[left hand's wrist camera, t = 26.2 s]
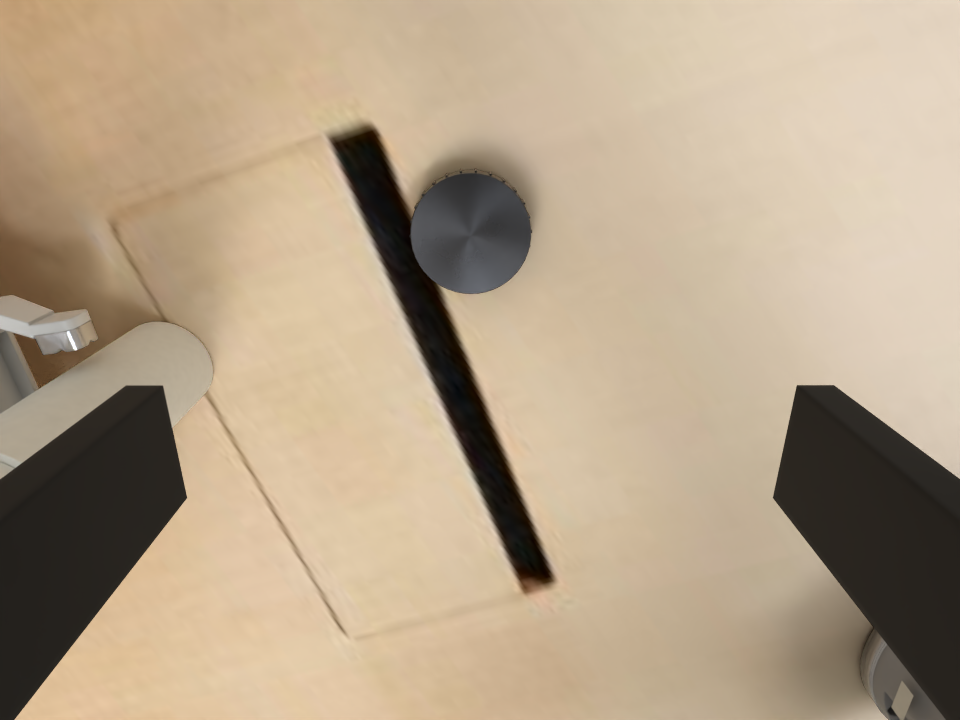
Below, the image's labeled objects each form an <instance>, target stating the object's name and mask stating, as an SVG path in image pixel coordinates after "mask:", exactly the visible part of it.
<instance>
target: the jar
mask: <svg viewBox="0 0 960 720" xmlns="http://www.w3.org/2000/svg"><path fill="white" fill-rule="evenodd" d="M212 378H213V365H212V361H211V358H210V355H209V353H208V351H207V349H206V348H205V346H204V345H203V344H202V343H201V341H200V340H199V339H198V338H197V337H196V336H194V335H193V334H192V333H191V332H189V331H187V330H186V329H184V328H182V327H180V326H177V325H175V324H171V323H167V322H148V323H144V324H141V325H139V326H136V327H135V328H133V329H132V330H130V331H129V332H127V333H126V334H124V335H122V336H121V337H119V338H118V339H116V340H115V341H113V342H112V343H110V344H108V345H107V346H105V347H104V348H102V349H101V350H99V351H97V352H96V353H94V354H93V355H91V356H90V357H88V358H87V359H85V360H83V361H82V362H80V363H79V364H77V365H76V366H74V367H72V368H71V369H69V370H68V371H66V372H65V373H63V374H62V375H60V376H58V377H57V378H55V379H54V380H52V381H51V382H49V383H48V384H46V385H44V386H43V387H41V388H40V389H38V390H37V391H35V392H33V393H32V394H30V395H29V396H27V397H26V398H24V399H23V400H21V401H19V402H18V403H16V404H15V405H13V406H12V407H10V408H8V409H7V410H5V411H4V412H2V413H1V414H0V479H1V478H2V477H4V476H5V475H7V474H8V473H9V472H11V471H12V470H13V469H15V468H16V467H17V466H19V465H20V464H21V463H23V462H24V461H25V460H27V459H28V458H29V457H31V456H32V455H33V454H35V453H36V452H37V451H39V450H40V449H41V448H43V447H44V446H45V445H47V444H48V443H49V442H51V441H52V440H53V439H55V438H56V437H58V436H59V435H60V434H62V433H63V432H64V431H66V430H67V429H68V428H70V427H71V426H72V425H74V424H75V423H76V422H78V421H79V420H80V419H82V418H83V417H84V416H86V415H87V414H88V413H90V412H91V411H92V410H94V409H95V408H96V407H98V406H99V405H100V404H102V403H103V402H104V401H106V400H107V399H109V398H110V397H111V396H113V395H114V394H115V393H117V392H118V391H119V390H121V389H122V388H123V387H125V386H126V385H163V387H164V392H165V397H166V402H167V406H168V411H169V416H170V420H171V425H172V428H173V427H174V426H175V425H176V424H177V423H178V422H179V421H180V420H181V419H182V417H183V416H184V415H185V414H186V413H187V412H188V411H189V410H190V409H191V408H192V407H193V406H194V405H195V404H196V403H197V402H198V401H199V400H200V398H201V397H202V396H203V395H204V394H205V393H206V392H207V390H208V389H209V387H210V385H211V382H212Z"/></svg>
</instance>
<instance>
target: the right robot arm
mask: <svg viewBox="0 0 960 720" xmlns="http://www.w3.org/2000/svg"><path fill="white" fill-rule="evenodd" d="M14 333H16V334H19V335H23V336H26V337H29V338H33V339H36V341H37V344H38V346H39V348H40V350H41V352H42V354H43V355H47V354H55V353H58V352H60V351H62V350H63V351H65V352H70V351H75V350H79V349H82V348H84V347H86V346H88V345H89V343H90V342H94V341H96V340H98V336H97V333H96V330H95V328H94V325H93V323H92V320H91V318H90V316H89V313H88V311H87V309H81V310H73V311H66V312H59V313H54V311H53V310H51V309H48V308H46V307H43V306H40V305H38V304H35V303H33V302H30V301H27V300H25V299H22V298H20V297H17V296H14V295H8V296H1V297H0V414H1V413H2V412H4V411H5V410H7V409H8V408H10V407H12V406H13V405H15V404H16V403H18V402H19V401H21V400H23V399H24V398H26V397H27V396H29V395H30V394H32V393H33V392H35V391H37V390H38V389H39V387H38V385H37V383H36V381H35V379H34V377H33V374H32V372H31V370H30V368H29V366H28V364H27V362H26V359H25V357H24V355H23V353H22V351H21V349H20V346H19V344H18V342H17V340H16V338H15V336H14Z"/></svg>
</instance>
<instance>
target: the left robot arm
mask: <svg viewBox="0 0 960 720" xmlns="http://www.w3.org/2000/svg"><path fill="white" fill-rule="evenodd" d="M186 499H187V496H186V491H185V486H184V482H183V477H182V472H181V467H180V463H179V458H178V453H177V449H176V444H175V439H174V435H173V430H172V425H171V420H170V416H169V411H168V406H167V402H166V397H165V392H164V387H163V385H126V386H125V387H123V388H122V389H121V390H119V391H118V392H117V393H115V394H114V395H113V396H111V397H110V398H109V399H107V400H106V401H104V402H103V403H102V404H100V405H99V406H98V407H96V408H95V409H94V410H92V411H91V412H90V413H88V414H87V415H86V416H84V417H83V418H82V419H80V420H79V421H78V422H76V423H75V424H74V425H72V426H71V427H70V428H68V429H67V430H66V431H64V432H63V433H62V434H60V435H59V436H58V437H56V438H55V439H53V440H52V441H51V442H49V443H48V444H47V445H45V446H44V447H43V448H41V449H40V450H39V451H37V452H36V453H35V454H33V455H32V456H31V457H29V458H28V459H27V460H25V461H24V462H23V463H21V464H20V465H19V466H17V467H16V468H15V469H13V470H12V471H11V472H9V473H8V474H7V475H5V476H4V477H2V478H1V479H0V720H14V719H15V718H16V717H17V716H18V714H19V713H20V712H21V710H22V709H23V708H24V707H25V705H26V704H27V703H28V701H29V700H30V699H31V698H32V696H33V695H34V694H35V692H36V691H37V690H38V689H39V687H40V686H41V685H42V683H43V682H44V681H45V680H46V678H47V677H48V676H49V674H50V673H51V672H52V671H53V669H54V668H55V667H56V665H57V664H58V663H59V662H60V660H61V659H62V658H63V656H64V655H65V654H66V653H67V651H68V650H69V649H70V647H71V646H72V645H73V644H74V642H75V641H76V640H77V639H78V637H79V636H80V635H81V633H82V632H83V631H84V630H85V628H86V627H87V626H88V624H89V623H90V622H91V621H92V619H93V618H94V617H95V615H96V614H97V613H98V612H99V610H100V609H101V608H102V606H103V605H104V604H105V603H106V601H107V600H108V599H109V597H110V596H111V595H112V594H113V592H114V591H115V590H116V588H117V587H118V586H119V585H120V583H121V582H122V581H123V579H124V578H125V577H126V576H127V574H128V573H129V572H130V570H131V569H132V568H133V567H134V565H135V564H136V563H137V561H138V560H139V559H140V558H141V556H142V555H143V554H144V552H145V551H146V550H147V549H148V547H149V546H150V545H151V544H152V542H153V541H154V540H155V538H156V537H157V536H158V535H159V533H160V532H161V531H162V529H163V528H164V527H165V526H166V524H167V523H168V522H169V520H170V519H171V518H172V517H173V515H174V514H175V513H176V511H177V510H178V509H179V508H180V506H181V505H182V504H183V502H184V501H185V500H186ZM773 499H774V500H775V501H776V502H777V504H778V505H779V506H780V508H781V509H782V510H783V511H784V513H785V514H786V515H787V517H788V518H789V519H790V520H791V522H792V523H793V524H794V526H795V527H796V528H797V529H798V531H799V532H800V533H801V535H802V536H803V537H804V538H805V540H806V541H807V542H808V544H809V545H810V546H811V547H812V549H813V550H814V551H815V552H816V554H817V555H818V556H819V558H820V559H821V560H822V561H823V563H824V564H825V565H826V567H827V568H828V569H829V570H830V572H831V573H832V574H833V576H834V577H835V578H836V579H837V581H838V582H839V583H840V585H841V586H842V587H843V588H844V590H845V591H846V592H847V594H848V595H849V596H850V597H851V599H852V600H853V601H854V603H855V604H856V605H857V606H858V608H859V609H860V610H861V612H862V613H863V614H864V615H865V617H866V618H867V619H868V621H869V622H870V623H871V624H872V626H873V627H874V630H873V631H872V633H871V634H870V636H869V638H868V640H867V642H866V644H865V646H864V649H863V653H862V656H861V663H860V672H861V678H862V681H863V684H864V686H865V688H866V690H867V692H868V693H869V695H870V696H871V698H872V699H873V701H874V702H875V704H876V705H877V707H878V708H879V710H880V711H881V712H882V714H883V715H884V716H885V717H886V718H887V719H888V720H960V479H959V478H958V477H956V476H955V475H953V474H952V473H951V472H949V471H948V470H947V469H945V468H944V467H943V466H941V465H940V464H939V463H937V462H936V461H935V460H933V459H932V458H931V457H929V456H928V455H927V454H925V453H924V452H923V451H921V450H920V449H919V448H917V447H916V446H915V445H913V444H912V443H911V442H909V441H908V440H907V439H905V438H904V437H902V436H901V435H900V434H898V433H897V432H896V431H894V430H893V429H892V428H890V427H889V426H888V425H886V424H885V423H884V422H882V421H881V420H880V419H878V418H877V417H876V416H874V415H873V414H872V413H870V412H869V411H868V410H866V409H865V408H864V407H862V406H861V405H860V404H858V403H857V402H856V401H854V400H853V399H851V398H850V397H849V396H847V395H846V394H845V393H843V392H842V391H841V390H839V389H838V388H837V387H835V386H834V385H797V387H796V392H795V397H794V402H793V406H792V411H791V416H790V420H789V425H788V430H787V435H786V439H785V444H784V449H783V453H782V458H781V463H780V467H779V472H778V477H777V482H776V486H775V491H774V496H773Z"/></svg>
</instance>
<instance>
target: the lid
mask: <svg viewBox="0 0 960 720" xmlns="http://www.w3.org/2000/svg"><path fill="white" fill-rule="evenodd" d="M516 192H517V191H516V189H515V188H514V187H513V188H512V187H511V186H510V185H509V184H508V183H506V182H505V179H504V178H502V179H501V178H499V177H497V176H495V175H493V174H492V173H491V172H490V171H489V173H488V172H484V171H479V170H477V169H476V168H475V170H462V169H460V171H457V172H454V173H451V174H448V173H446V175H445V176H444V177H442V178H441V179H439V180H438V181H434V182H433V184H432V185H431V186H430V187H429V189H428V190H427V191H424V192H423V194H422V198H421V200H420V201H419V203H417V204H416V206H415V211H414V214H413V217H412V219H411V221H410V223H411V233H410V237H411V244H412V249H413V252H414V255H415V257H416V259H417V261H418V263H419V265H420V266H421V268H422V269H423V271H424V272H425V273H426V274H427V275H428V276H429V277H430V278H431V279H432V280H433V281H434V282H436V283H437V284H439V285H440V286H442V287H444V288H446V289H448V290H451V291H454V292H459V293H465V294H478V293H483V292H487V291H491V290H493V289H496V288H498V287H500V286H501V285H503V284H505V283H506V282H507V281H509V280H510V279H511V278H512V277H513V276H514V275H515V274H516V273H517V272H518V270H519V269H520V268H521V266H522V264H523V263H524V261H525V259H526V256H527V254H528V251H529V247H530V241H531V233H532V230H531V226H530V220H529V218H530V216H529V214H528V213H527V211H526V209H525V206H524V204H525V203H524V201H523V199H522V200H521V199H520V197H519V196H518V194H517V193H516Z"/></svg>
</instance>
